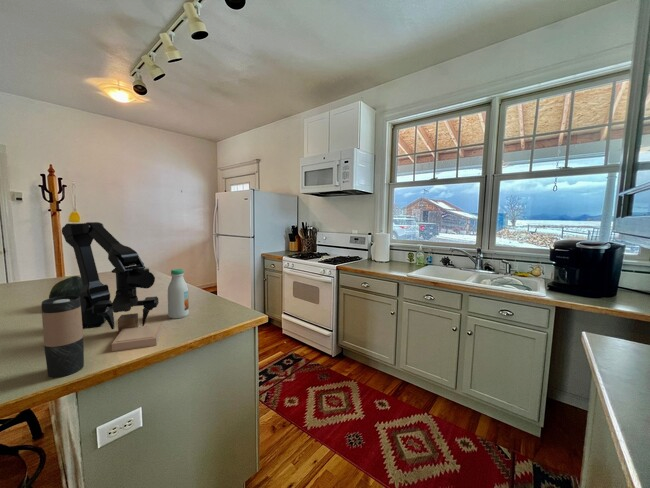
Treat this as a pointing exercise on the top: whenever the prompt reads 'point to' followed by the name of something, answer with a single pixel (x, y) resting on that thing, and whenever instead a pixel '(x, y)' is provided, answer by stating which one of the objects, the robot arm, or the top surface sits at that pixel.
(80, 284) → the squash
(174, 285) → the milk bottle
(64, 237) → the robot arm
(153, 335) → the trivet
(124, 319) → the walnut block
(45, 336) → the travel mug
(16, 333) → the top surface
